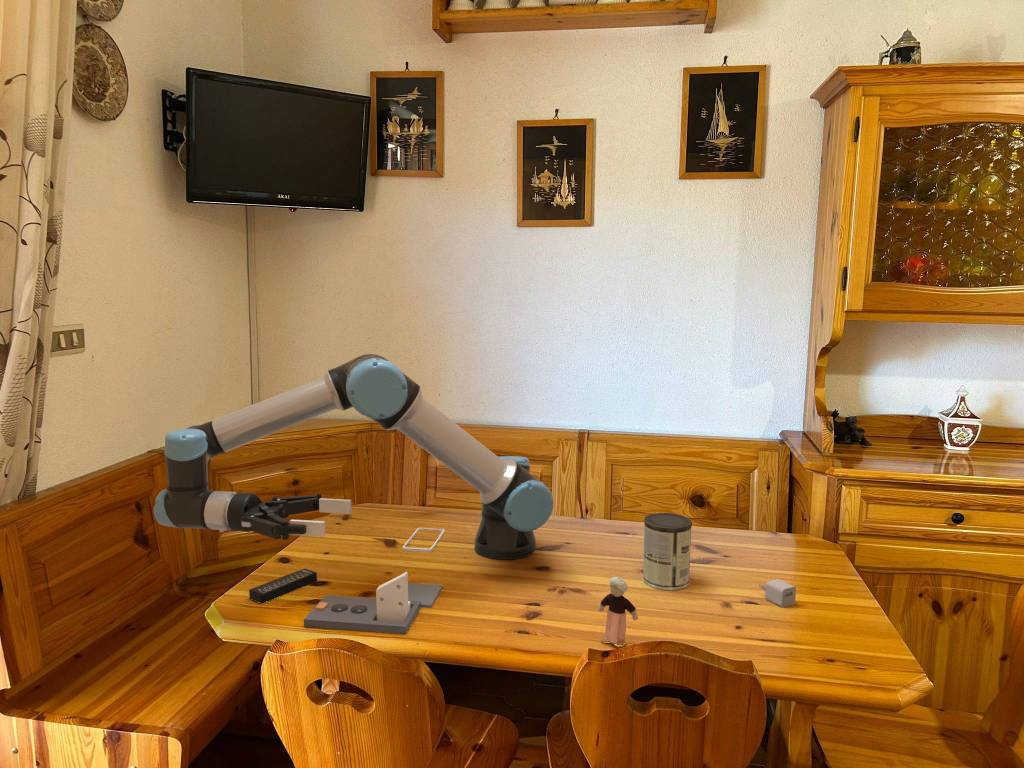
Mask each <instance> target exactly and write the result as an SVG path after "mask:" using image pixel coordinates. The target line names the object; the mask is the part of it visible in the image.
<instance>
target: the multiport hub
mask: <svg viewBox="0 0 1024 768" xmlns="http://www.w3.org/2000/svg"><path fill="white" fill-rule="evenodd" d="M316 582H318V572H317V571H313V570H311V569H308V568H301V569H298V570H295V571H294V572H291V573H288V574H285V575H284V576H283V575H282V576H281V577H278V578H276V579H273V580H270V581H268V582H266V583H262V584H260V585H257V586H255V587H253V588H249V590H248V595H249V600H251V599H253V600H256V601H258V602H260V603H259V604H261V603H263V604H265V603H264V602H266V601H268V602H270V601H272V599H273V600H275V599H277V597H278V598H280V597H282V596H285V595H286V594H290V593H292V592H295V591H297V590H299V589H302V588H304V587H306V586H309V585H311V584H313V583H316ZM289 592H290V593H289ZM284 594H285V595H284ZM279 596H280V597H279ZM274 598H275V599H274ZM253 600H252V601H253ZM269 600H270V601H269ZM256 601H255V602H256ZM258 602H257V603H258ZM266 603H267V602H266Z"/></svg>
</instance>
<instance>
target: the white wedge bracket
mask: <svg viewBox="0 0 1024 768" xmlns="http://www.w3.org/2000/svg"><path fill="white" fill-rule="evenodd" d="M408 576H409V573H408V571H405V572H404V573H402V574H400V575H398V576H395V577H394V578H392V579H391V580H389V581H386V582H384V583H382V584H380V585H379V586H378V587H377V588H376V589H375V595H376V596H375V598H376V604H377V621H387V622H401V623H403V622H404V620H405V618H406V617H407V615H408V613H409V612H410V601H408V583H409V577H408Z"/></svg>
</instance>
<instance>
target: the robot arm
mask: <svg viewBox="0 0 1024 768" xmlns="http://www.w3.org/2000/svg"><path fill="white" fill-rule="evenodd" d="M422 393H423V392H422V387H421V386H420V385H419V384H418V383H416V382H415V381H414V380H413V379H412V378H410V377H409V376H408V375H406V374H405V373H404V372H403V371H401V369H400V368H399V367H398V366H396V364H394V363H393V362H391V361H389V360H388V359H387V358H386V357H384V356H381V355H379V354H372V353H368V354H367V353H366V354H362V355H359V356H356V357H355V358H352V359H351V360H349V361H347V362H345V363H342V364H341V365H338V366H336V367H334V368H331V369H328V370H326V371H325V374H324V376H323V377H320V378H319V379H316V380H313V381H310V382H307V383H306V384H303V385H301V386H297V387H294V388H291V389H289V390H287V391H285V392H282V393H279V394H276V395H275V396H271V397H269V398H267V399H264V400H261V401H259V402H256V403H253V404H251V405H248V406H246V407H243V408H241V409H238V410H235V411H234V412H230V413H227V414H225V415H222V416H219V417H217V418H215V419H212V420H210V421H207V422H204V423H202V424H193V425H191V426H189V427H187V428H184V429H183V428H181V429H175V430H173V431H169V432H167V434H166V435H165V436H164V449H163V452H164V454H165V471H166V488H165V489H163V490H161V491H159V493H158V495H157V496H156V498H155V503H154V504H155V505H154V506H153V514H154V518H155V521H156V522H157V523H158V524H159V525H161V526H164V527H172V528H177V529H193V530H195V529H197V530H202V529H203V530H216V531H217V530H218V531H219V532H220V533H224V532H225V531H233V532H241V533H242V532H247V533H250V532H252V533H255V534H259V535H262V536H266V537H267V538H268V537H269V538H271V539H275V540H280V539H282V540H283V541H287V540H289V539H290V536H301V537H302V536H303V537H317V538H318V537H319V538H323V537H324V538H325V536H326V521H324V520H306V519H305V520H304V519H290V520H289V521H288V520H286V519H287V518H288V517H290V516H291V515H296V514H305V513H310V512H315V511H318V512H319V513H325V514H326V513H328V514H329V513H330V514H346V515H351V514H352V499H341V498H324V497H323V495H322V493H317V494H310V495H308V494H307V495H298V496H297V495H296V496H284V497H283V496H278V497H277V496H274V497H272V498H271V500H266V501H264V502H262V501H261V498H260V497H259V495H258V494H257V493H254V492H236V491H222V490H210V489H209V466H208V464H209V463H208V462H209V461H210V460H212V459H213V458H215V457H218V456H221V455H223V454H226V453H228V452H229V451H233V450H235V449H237V448H240V447H243V446H245V445H247V444H248V445H249V444H251V443H253V442H256V441H258V440H260V439H264V438H265V437H268V436H270V435H273V434H276V433H278V432H280V431H283V430H286V429H289V428H290V427H293V426H296V425H299V424H301V423H303V422H307V421H309V420H311V419H314V418H316V417H318V416H320V415H324V414H326V413H330V412H331V411H334V410H340V411H341V412H342V411H346V410H349V409H351V408H354V409H355V411H357V412H358V413H359V414H360V415H362V416H365V417H366V418H369V419H371V420H372V421H374V422H375V423H376V424H378V425H379V426H380V427H382V428H383V429H385V431H392V430H398V431H400V433H402V434H403V435H404V436H406V437H407V438H408V439H410V440H411V441H412V442H414V443H415V444H416V445H417V446H418V447H420V448H421V449H423V450H424V451H425V452H427V453H429V454H430V455H431V456H432V457H433V458H435V459H436V460H437V461H439V462H441V464H443V465H444V466H445V467H447V468H448V469H449V470H451V471H452V472H453V473H454V474H455V475H457V476H459V477H460V478H462V480H464V481H465V482H466V483H468V484H469V485H470V486H471V487H473V488H474V489H476V490H477V491H478V492H479V495H480V501H481V520H480V522H479V525H478V529H477V532H476V535H475V537H474V551H475V552H476V554H479V555H480V556H483V557H486V558H489V559H496V560H514V559H515V560H516V559H521V558H522V559H523V558H525V557H528V556H530V555H533V553H534V552H535V551H536V547H537V546H536V545H537V543H536V536H535V534H534V531H536V530H537V529H540V528H541V527H542V526H544V525H545V523H547V521H548V520H549V519H550V517H551V515H552V512H553V510H554V497H553V494H552V492H551V489H549V487H548V485H546V484H545V483H544V482H543V481H540V479H538V478H537V477H536V476H534V475H533V474H532V473H530V470H531V464H530V459H529V458H528V457H525V456H519V455H513V456H512V455H508V456H507V455H506V456H505V455H504V456H503V455H502V456H498V455H496V453H494V452H493V451H492V450H490V449H489V448H487V447H486V446H485V445H484V444H482V443H481V442H480V441H479V440H477V438H475V437H474V436H472V435H471V434H470V433H469V432H467V431H466V430H464V429H463V428H462V427H461V426H459V424H457V423H456V422H454V420H452V419H451V418H449V417H448V416H447V415H445V414H444V413H443V412H442V411H441V410H440V409H438V408H437V407H436V406H434V405H433V404H431V403H430V402H429V401H428V400H427V399H425V398H424V397H423V394H422ZM289 535H290V536H289Z"/></svg>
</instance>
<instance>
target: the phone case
mask: <svg viewBox="0 0 1024 768" xmlns="http://www.w3.org/2000/svg"><path fill="white" fill-rule="evenodd" d="M419 530H423V531H424V530H431V531H433V530H434V531H439V532H440V531H442V532H440V534H439V536H438V537H437V539H436V540H435V542H434V544H433V545H432V546H431V547H430V548H424V547H423V548H422V547H407V545H408V544H409V543H411V542H412V541H413V539H414V538H415V537H416V535H417V534H418V533H419V532H420V531H419ZM445 530H446V529H444V528H432V527H418V528H416V530H415V531H414V532H413V534H412V535H411V536H410V537H409V538H408V540H407V541H406V542H405V544H404V545H402V551H403V550H405V551H404V552H410V551H422V552H421V553H427V552H430V553H432V552H433V551H434V550H433V549H435V548H436V547H437V545H438V544H437V543H439V542H440V541H441V539H442V538H443V536H444V535H443V534H445V532H446V531H445ZM418 531H419V532H418ZM417 532H418V533H417ZM416 533H417V534H416ZM415 534H416V535H415ZM442 535H443V536H442ZM414 536H415V537H414ZM413 537H414V538H413ZM441 537H442V538H441ZM412 538H413V539H412ZM439 540H440V541H439ZM410 541H411V542H410ZM436 544H437V545H436ZM435 546H436V547H435ZM434 547H435V548H434ZM432 550H433V551H432ZM431 551H432V552H431Z"/></svg>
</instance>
